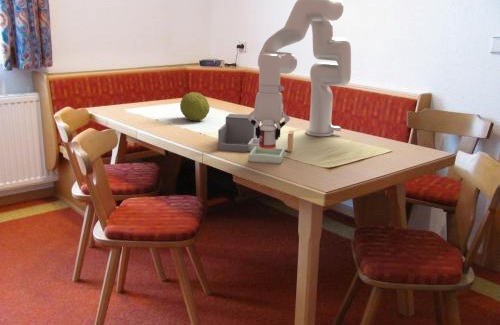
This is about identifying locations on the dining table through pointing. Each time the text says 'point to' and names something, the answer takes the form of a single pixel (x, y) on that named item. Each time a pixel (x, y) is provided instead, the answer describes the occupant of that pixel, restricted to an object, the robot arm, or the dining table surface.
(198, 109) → the fruit
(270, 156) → the tray
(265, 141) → the pill bottle
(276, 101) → the robot arm
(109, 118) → the dining table surface
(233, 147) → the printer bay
